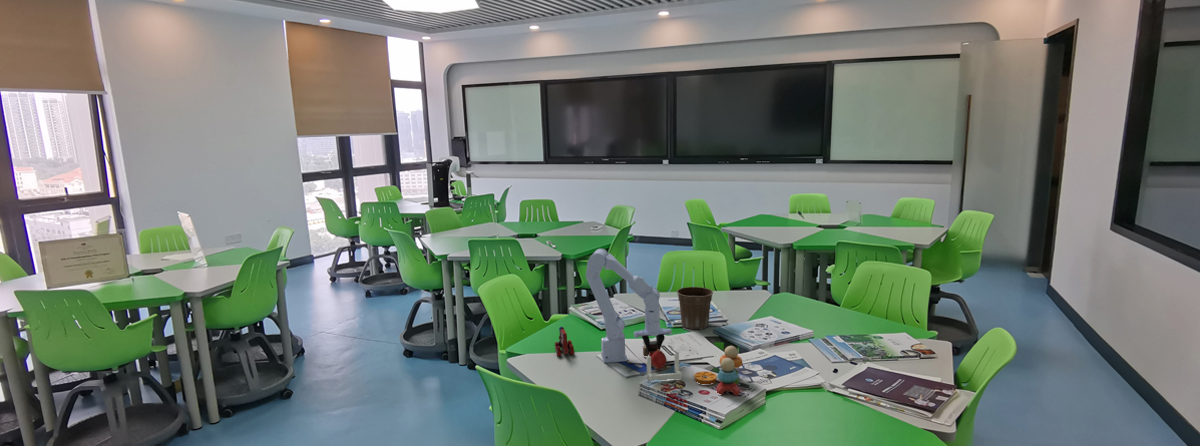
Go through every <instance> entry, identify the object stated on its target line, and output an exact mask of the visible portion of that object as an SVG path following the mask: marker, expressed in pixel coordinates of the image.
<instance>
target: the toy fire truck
mask: <svg viewBox="0 0 1200 446" xmlns="http://www.w3.org/2000/svg"><path fill="white" fill-rule="evenodd" d="M558 331H559V336H558V341H555V342H554V347H555V348H554V349H555V352H556V356H557V357H561V356H562V353H563V354H564V355H566V354H568V353H569V355H570V356H572V355H574V354H575V348H574V345H573V342H572V340H570V339H569V340H568V334H567V332H566V330H565V327H563V326H559V328H558Z"/></svg>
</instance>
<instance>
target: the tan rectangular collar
mask: <svg viewBox="0 0 1200 446" xmlns="http://www.w3.org/2000/svg"><path fill="white" fill-rule="evenodd" d="M642 354H643V355H644V356H648V354H647V349H646V346H643V345H642ZM643 355H642V356H643ZM644 356H643V357H644Z"/></svg>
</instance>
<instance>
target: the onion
mask: <svg viewBox="0 0 1200 446" xmlns="http://www.w3.org/2000/svg"><path fill="white" fill-rule="evenodd" d="M661 351H662V350H661V348H660V349H658V350H657V351H656V352H654V353H653V355H652V357H651V363H652V365H651V366H653V367H654V368H656V369H657V370H661V369H662V368H664V366H666V364H667V361H668V359H667V356H666V354H665V353H664V352H663V351H662V352H661Z"/></svg>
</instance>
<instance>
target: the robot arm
mask: <svg viewBox="0 0 1200 446" xmlns="http://www.w3.org/2000/svg"><path fill="white" fill-rule="evenodd" d="M586 264H587V265H586V271H585V278H586V281H587V283H588V284H589V287H590V290H591V292H592V294H593V296H594V299H595V301H596V303H597V305H598V308H599V310H600V312H601V314H602V317H603V323H604V326H605V335H606V336H605V337H602V338H601V339H600V342H601V343H600V347H601V352H600V353H601V358H602V361H603V363H604V364H606V363H619V362H620V363H621V362H628V361H629V359H628V357H627V355H626V336H625V334H624V332H623V331H624V330H625V327H626V325H625V323H626V322H625V321H624V319H622V318H621V316H620V314H618V311H616V310H615V308H614V307H615V306H614V305H613V304H612V301H611V298H610V296H609V294H608V292H607V290H606V287H605V285H604V283H603V281H602V278H601V275H600V274H601V272H602V270H608V271H609V270H610V271H613V272H615V274H617V275H618V276H619V277H620V278H622V279H623V280H624V281H626V282H627V284H628V288H629V289H630V290H632V292H634V293H635V294H636V295H638V297H639V298H641V299H642V300H643V303H644V305H645V306H644V329H641V330H635V331H633V337H634V339H637V338H641V339H642V342H643V341H644V343H645V346H646V349H647V354H648V355H649V352H650V341H651V339H650V337H655V338H656V339H655V341H657V343H658V349H660V350H661V347H662V345H663V343H664V341H665V339H666V338H665V336H667V335H669V336H672V329H671V328H661V318H660V317H661V316H660V314H661V313H660V296H661V295H660V292H659V290H658V289H657V288H656V287H653V285H649V284H648V283H647V282H646V281H645V278H644V277H642V276H639V275H633V273H632V272H630V271H629V270H628V269H627V268H626V267H625V266H624V265H623V264H622V263H621V262H619V260H618V259H617V258H616V257H615V256H614V255H612V254H611V253H610V252H608V251H607V250H606V249H604V248H598V249H596V250H595V251H594V252H593V253H592V254H591V255H590V256H589V258H588V259H587V262H586ZM603 268H604V269H603ZM627 360H628V361H627Z"/></svg>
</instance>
